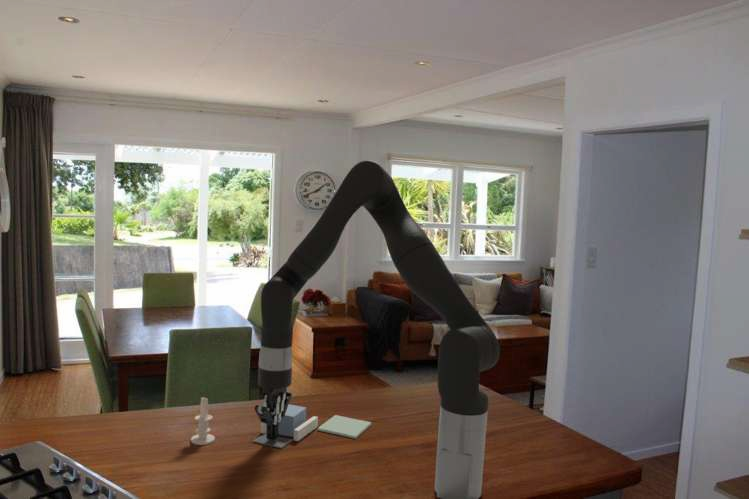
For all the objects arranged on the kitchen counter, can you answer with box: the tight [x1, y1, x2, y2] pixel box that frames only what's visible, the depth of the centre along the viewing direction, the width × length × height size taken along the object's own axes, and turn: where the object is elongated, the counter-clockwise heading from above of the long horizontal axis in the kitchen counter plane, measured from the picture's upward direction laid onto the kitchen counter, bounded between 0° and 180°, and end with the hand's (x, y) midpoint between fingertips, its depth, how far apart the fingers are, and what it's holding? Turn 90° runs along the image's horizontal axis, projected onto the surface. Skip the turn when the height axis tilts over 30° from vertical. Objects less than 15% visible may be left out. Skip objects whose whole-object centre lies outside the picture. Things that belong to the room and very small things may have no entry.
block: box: [278, 403, 307, 438], centre depth 147 cm, size 7×5×5 cm
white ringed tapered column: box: [190, 395, 216, 446], centre depth 137 cm, size 5×5×10 cm
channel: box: [252, 415, 319, 450], centre depth 144 cm, size 16×10×2 cm, turn 159°
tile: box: [317, 414, 372, 440], centre depth 150 cm, size 10×10×1 cm
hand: (272, 438), depth 139 cm, fingers closed
